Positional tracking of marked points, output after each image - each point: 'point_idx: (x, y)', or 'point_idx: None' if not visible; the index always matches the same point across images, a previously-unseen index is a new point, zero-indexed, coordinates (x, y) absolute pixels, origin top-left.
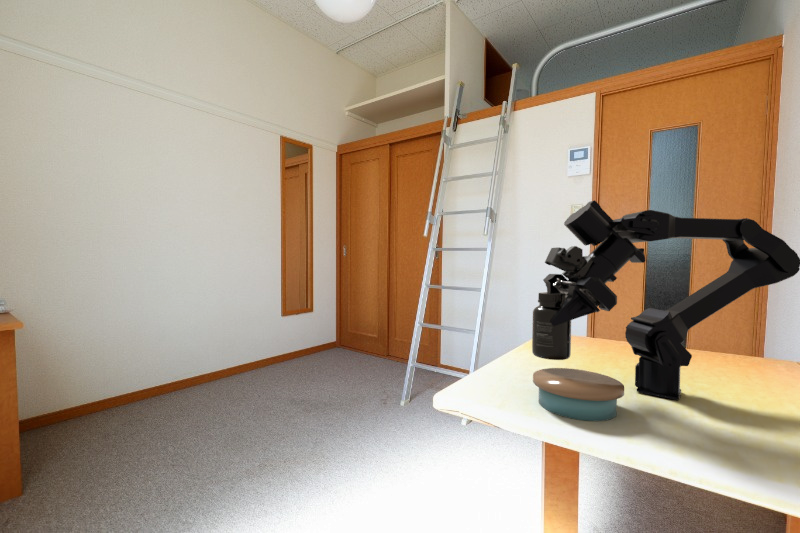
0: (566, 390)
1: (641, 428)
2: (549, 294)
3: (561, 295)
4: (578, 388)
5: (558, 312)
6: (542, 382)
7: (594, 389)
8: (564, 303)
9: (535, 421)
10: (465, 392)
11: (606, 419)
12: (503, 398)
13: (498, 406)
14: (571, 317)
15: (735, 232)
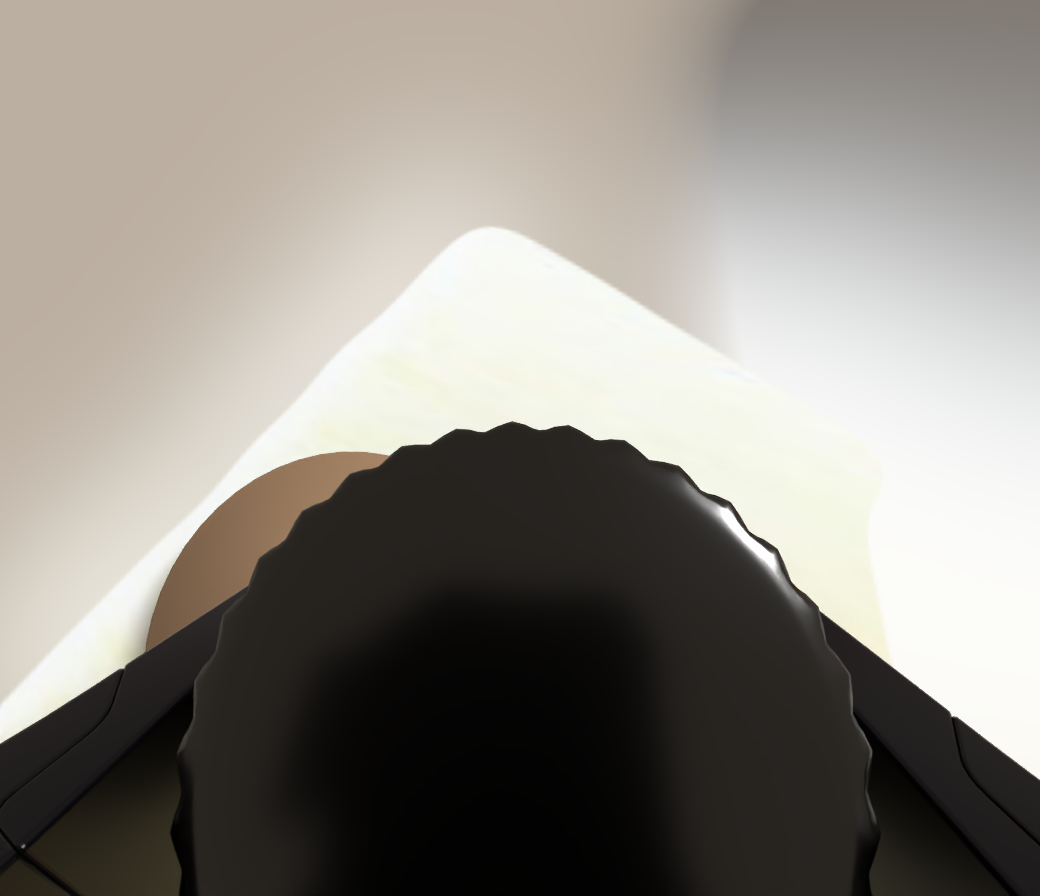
0: (213, 516)
1: None
2: (270, 550)
3: (195, 869)
4: (224, 578)
5: (222, 605)
6: (312, 462)
7: None
8: (100, 735)
9: (277, 429)
10: (518, 290)
11: None
12: (460, 393)
13: (394, 359)
14: None
15: None
